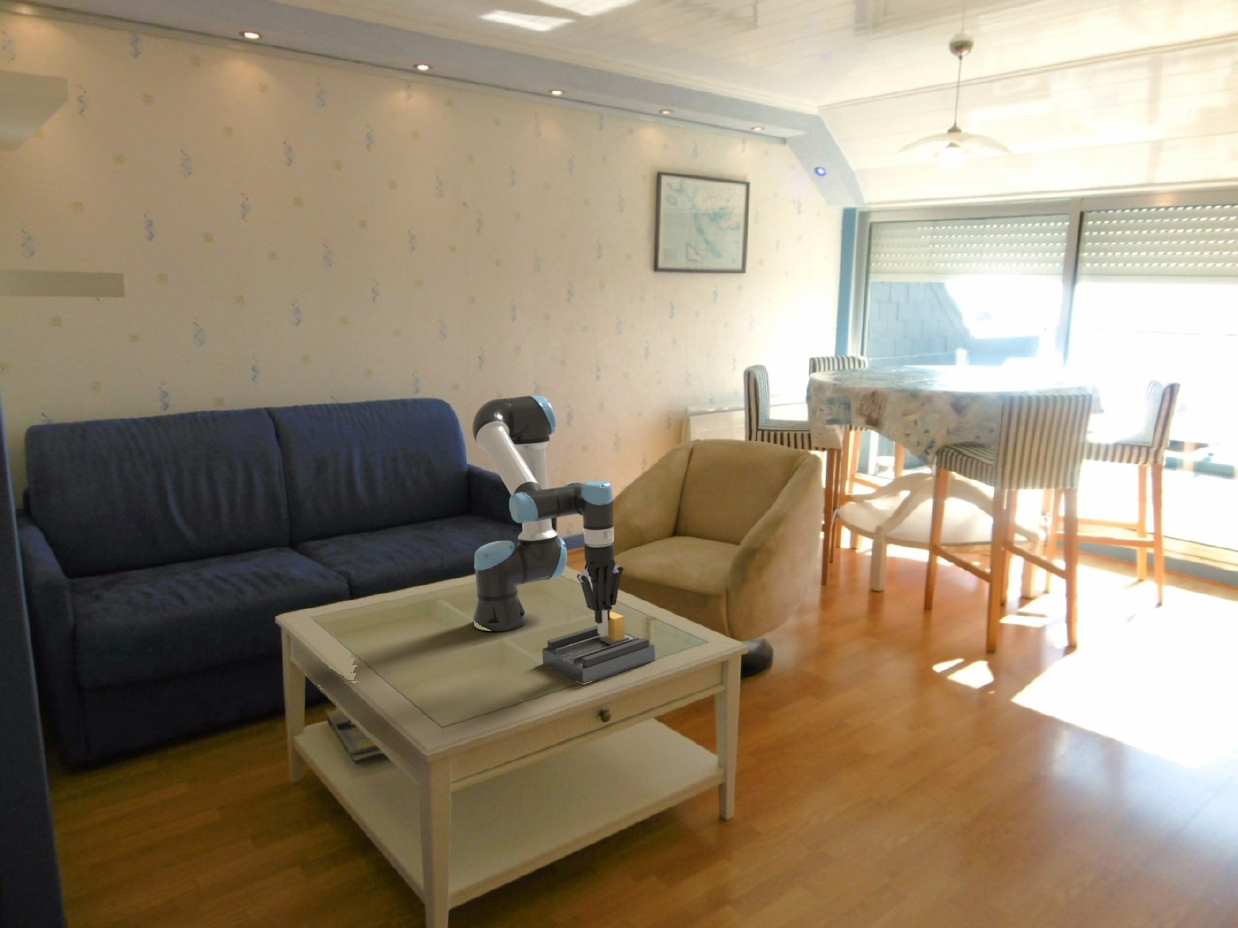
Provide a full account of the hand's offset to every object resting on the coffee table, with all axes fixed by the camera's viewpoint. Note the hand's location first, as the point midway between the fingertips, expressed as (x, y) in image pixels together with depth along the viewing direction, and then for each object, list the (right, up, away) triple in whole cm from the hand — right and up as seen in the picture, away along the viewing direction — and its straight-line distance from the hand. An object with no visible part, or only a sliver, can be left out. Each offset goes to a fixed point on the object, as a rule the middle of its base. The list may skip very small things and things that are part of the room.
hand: (603, 634), depth 222 cm
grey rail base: (-1, -7, 0) cm, 7 cm away
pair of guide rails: (-1, -3, 0) cm, 3 cm away
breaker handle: (+3, -2, +2) cm, 4 cm away
